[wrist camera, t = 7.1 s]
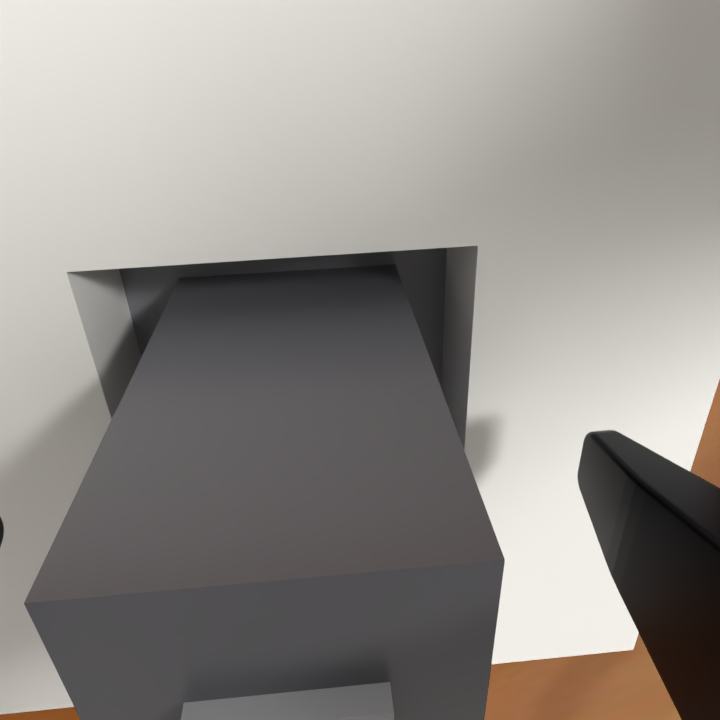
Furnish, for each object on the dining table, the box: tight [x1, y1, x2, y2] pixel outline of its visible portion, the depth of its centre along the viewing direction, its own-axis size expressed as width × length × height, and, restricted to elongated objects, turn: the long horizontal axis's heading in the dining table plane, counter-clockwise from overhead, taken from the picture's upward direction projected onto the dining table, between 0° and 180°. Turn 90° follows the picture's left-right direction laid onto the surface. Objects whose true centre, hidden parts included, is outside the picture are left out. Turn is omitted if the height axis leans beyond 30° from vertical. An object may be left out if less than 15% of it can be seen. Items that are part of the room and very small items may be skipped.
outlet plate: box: [0, 0, 720, 714], centre depth 11 cm, size 15×15×3 cm
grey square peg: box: [24, 265, 505, 720], centre depth 9 cm, size 4×4×7 cm
